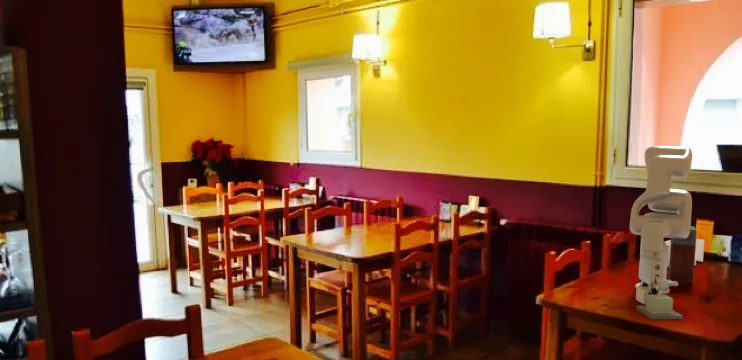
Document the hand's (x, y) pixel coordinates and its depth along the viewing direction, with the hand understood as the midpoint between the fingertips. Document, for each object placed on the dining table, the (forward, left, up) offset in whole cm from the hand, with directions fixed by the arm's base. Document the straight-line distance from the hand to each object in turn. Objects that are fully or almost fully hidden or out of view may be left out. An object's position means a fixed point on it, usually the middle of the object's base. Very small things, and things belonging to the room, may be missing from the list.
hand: (648, 299), depth 219 cm
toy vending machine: (-30, -32, -1) cm, 44 cm away
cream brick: (0, 0, -1) cm, 1 cm away
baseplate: (+3, +12, -1) cm, 13 cm away
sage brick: (+3, +12, 0) cm, 13 cm away
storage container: (-47, -61, -2) cm, 77 cm away
